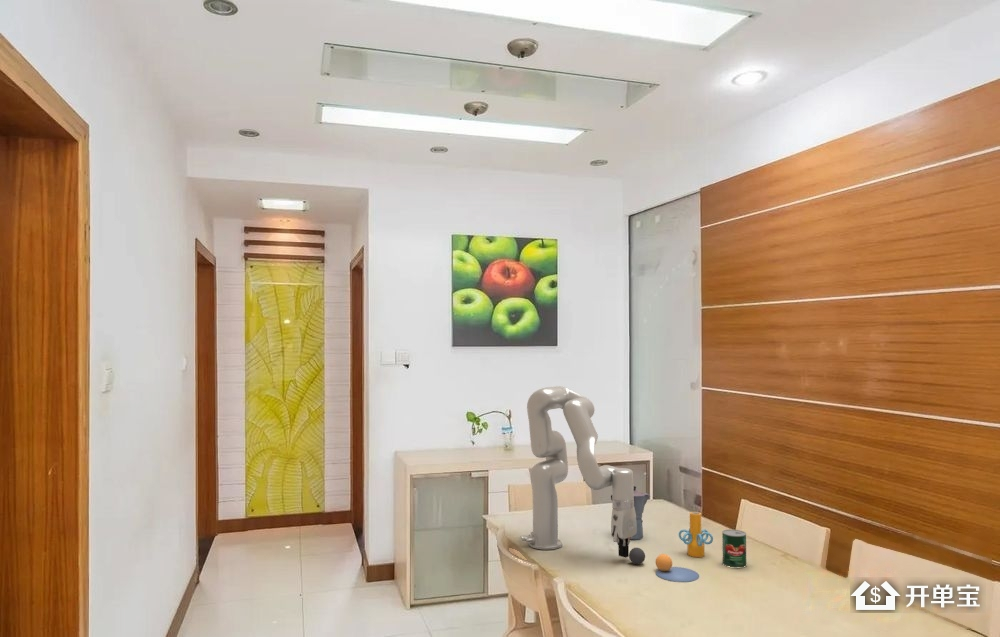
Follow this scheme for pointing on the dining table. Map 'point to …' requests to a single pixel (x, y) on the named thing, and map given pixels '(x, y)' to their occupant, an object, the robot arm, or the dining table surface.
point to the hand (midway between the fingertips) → (623, 556)
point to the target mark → (678, 574)
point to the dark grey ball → (637, 555)
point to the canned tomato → (734, 548)
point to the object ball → (663, 562)
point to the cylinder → (695, 536)
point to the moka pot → (639, 511)
